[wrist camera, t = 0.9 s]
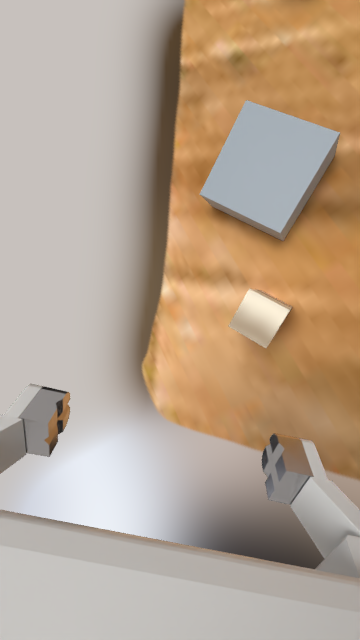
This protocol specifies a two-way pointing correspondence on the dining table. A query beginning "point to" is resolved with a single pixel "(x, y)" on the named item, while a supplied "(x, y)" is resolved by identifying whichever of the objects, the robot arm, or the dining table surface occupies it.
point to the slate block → (269, 168)
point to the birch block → (260, 316)
